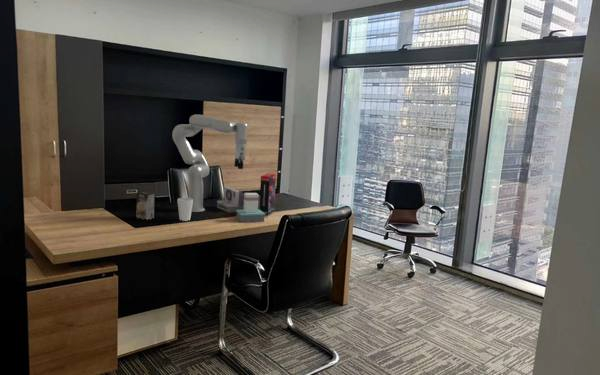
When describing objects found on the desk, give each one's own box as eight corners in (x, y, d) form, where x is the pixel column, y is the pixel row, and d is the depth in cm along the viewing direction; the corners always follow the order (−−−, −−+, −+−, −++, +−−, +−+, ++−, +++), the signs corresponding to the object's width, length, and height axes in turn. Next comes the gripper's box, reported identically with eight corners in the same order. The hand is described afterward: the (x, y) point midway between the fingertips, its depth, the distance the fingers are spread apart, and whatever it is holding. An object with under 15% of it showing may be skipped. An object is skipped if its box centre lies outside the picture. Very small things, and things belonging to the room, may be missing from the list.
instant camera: (215, 206, 318) (216, 186, 316) (242, 205, 328) (243, 185, 326) (224, 213, 300) (225, 191, 298) (252, 211, 310) (253, 191, 307)
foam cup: (195, 219, 277) (195, 199, 275) (187, 222, 268) (188, 201, 266) (181, 217, 279) (182, 197, 277) (174, 220, 271) (174, 199, 268)
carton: (257, 212, 284) (258, 194, 282) (245, 212, 280) (246, 194, 279) (255, 210, 289) (256, 192, 287) (243, 211, 286) (244, 192, 284)
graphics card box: (268, 216, 298) (270, 176, 294) (258, 215, 300) (260, 175, 295) (274, 211, 315) (276, 174, 311) (265, 210, 316) (267, 173, 312)
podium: (240, 222, 276) (241, 214, 275) (235, 217, 288) (236, 209, 287) (265, 221, 283) (265, 213, 282) (258, 217, 294) (259, 209, 294)
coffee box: (135, 217, 270) (135, 192, 267) (143, 216, 276) (143, 191, 273) (147, 220, 266) (147, 194, 264) (154, 218, 272) (154, 192, 269)
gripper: (249, 143, 279) (247, 170, 282) (243, 140, 295) (240, 166, 297) (238, 142, 276) (236, 169, 279) (232, 140, 292) (230, 165, 295)
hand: (238, 167), depth 288 cm, fingers open, 9 cm apart
